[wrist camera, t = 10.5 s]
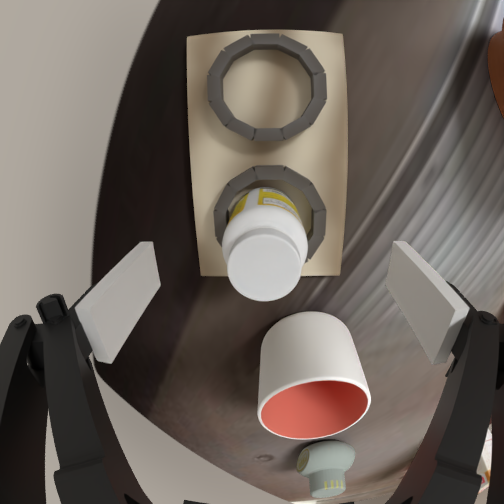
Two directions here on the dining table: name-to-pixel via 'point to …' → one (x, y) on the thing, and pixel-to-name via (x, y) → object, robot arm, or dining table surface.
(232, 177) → the caddy
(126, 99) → the dining table surface
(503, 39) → the potted plant
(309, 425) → the cup
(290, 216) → the supplement bottle
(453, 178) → the dining table surface
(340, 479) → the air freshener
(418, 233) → the dining table surface
